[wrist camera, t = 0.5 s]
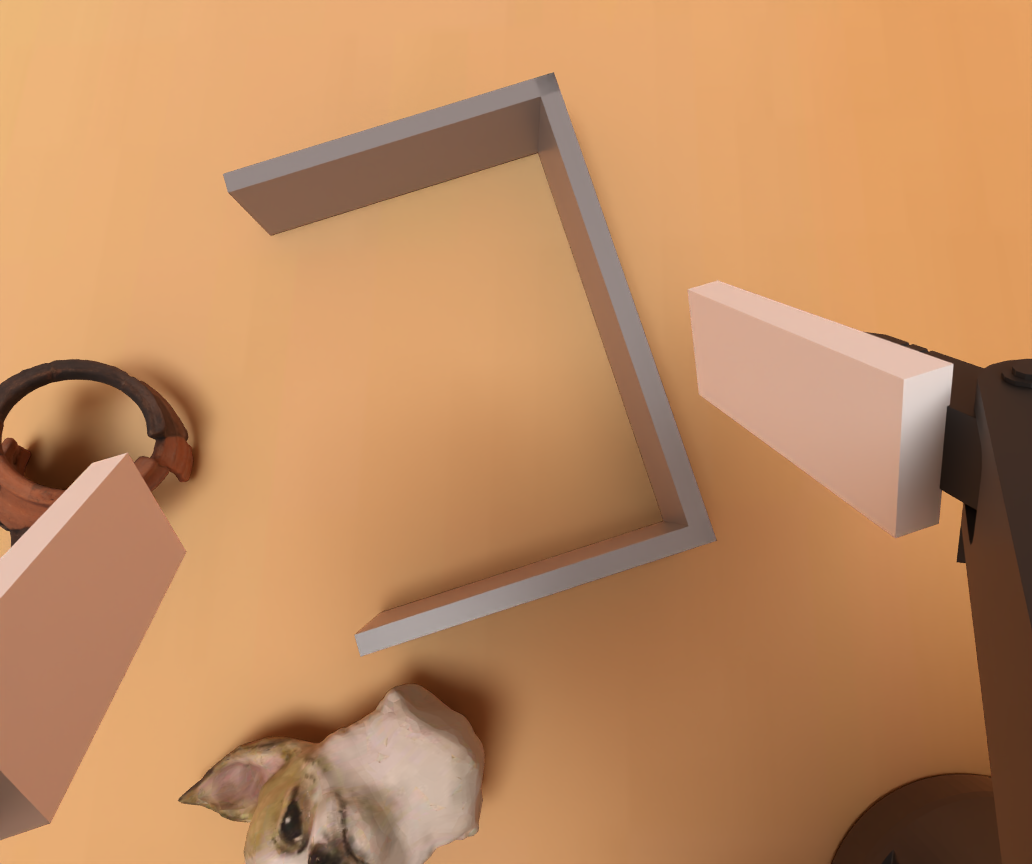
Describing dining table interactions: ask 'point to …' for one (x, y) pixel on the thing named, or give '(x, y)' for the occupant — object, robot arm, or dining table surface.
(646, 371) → the walled box
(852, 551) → the dining table surface
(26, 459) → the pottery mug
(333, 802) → the ceramic sculpture
